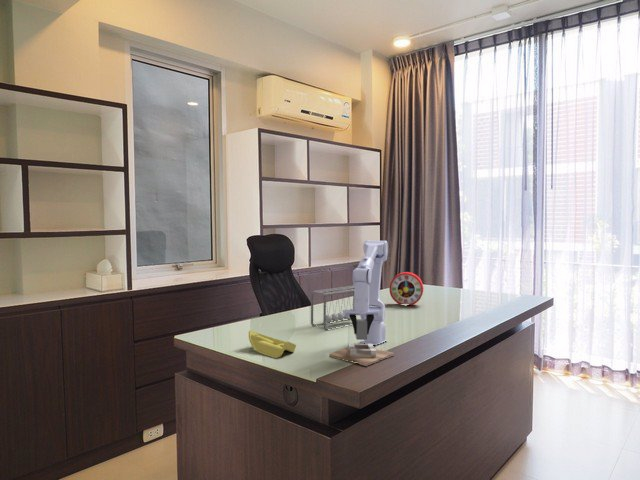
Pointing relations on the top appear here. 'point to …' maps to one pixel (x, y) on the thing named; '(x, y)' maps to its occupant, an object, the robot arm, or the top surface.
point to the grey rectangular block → (361, 329)
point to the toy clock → (406, 288)
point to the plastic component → (269, 345)
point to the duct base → (360, 359)
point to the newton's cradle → (334, 316)
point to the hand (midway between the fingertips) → (361, 333)
